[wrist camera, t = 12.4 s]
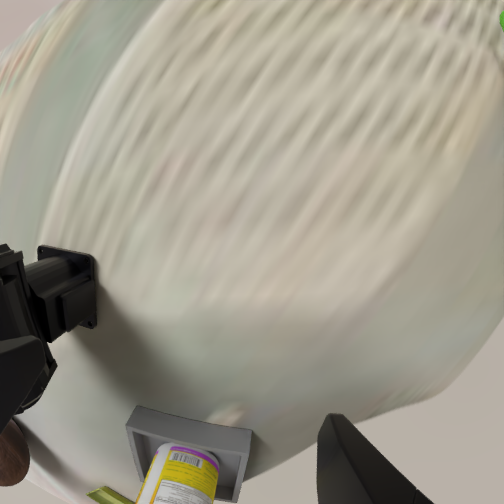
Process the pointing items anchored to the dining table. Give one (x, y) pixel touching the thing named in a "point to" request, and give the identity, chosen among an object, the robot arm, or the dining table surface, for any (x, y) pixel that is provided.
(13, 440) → the wooden sphere
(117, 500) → the green rectangular frame
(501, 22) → the snack cup
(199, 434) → the tray
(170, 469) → the supplement bottle
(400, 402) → the dining table surface
